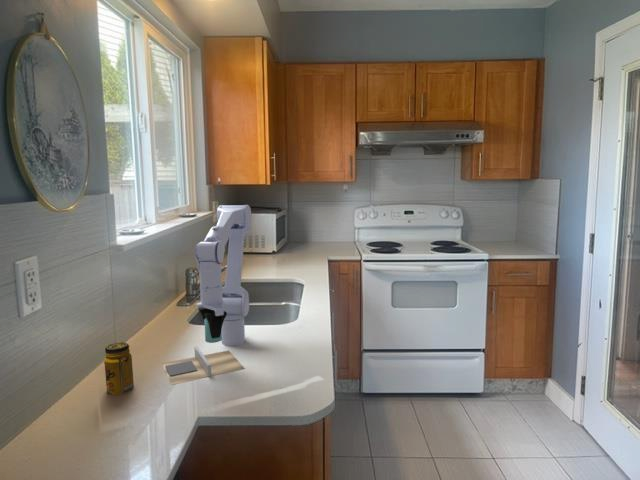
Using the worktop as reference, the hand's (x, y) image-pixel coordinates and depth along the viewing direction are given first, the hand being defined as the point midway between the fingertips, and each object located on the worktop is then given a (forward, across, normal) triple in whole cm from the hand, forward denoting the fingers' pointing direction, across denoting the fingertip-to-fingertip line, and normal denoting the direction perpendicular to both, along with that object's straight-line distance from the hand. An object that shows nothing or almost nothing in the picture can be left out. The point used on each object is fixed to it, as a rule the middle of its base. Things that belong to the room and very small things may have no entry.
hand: (213, 334), depth 121 cm
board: (+9, -1, -3) cm, 10 cm away
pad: (+8, -2, -9) cm, 12 cm away
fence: (+8, -1, -3) cm, 9 cm away
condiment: (+10, +2, -23) cm, 25 cm away
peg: (+1, 0, 0) cm, 1 cm away
